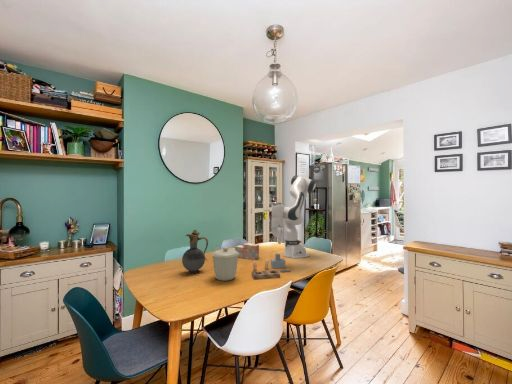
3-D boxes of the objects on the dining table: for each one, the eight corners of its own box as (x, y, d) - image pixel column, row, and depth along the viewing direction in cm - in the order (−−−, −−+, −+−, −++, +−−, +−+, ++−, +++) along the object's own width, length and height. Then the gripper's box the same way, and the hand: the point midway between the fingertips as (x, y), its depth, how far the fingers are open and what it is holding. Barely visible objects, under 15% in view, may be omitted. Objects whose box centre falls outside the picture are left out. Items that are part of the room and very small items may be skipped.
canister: (206, 277, 163) (206, 246, 163) (229, 271, 175) (229, 242, 175) (221, 285, 149) (221, 251, 149) (244, 278, 161) (244, 246, 161)
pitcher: (180, 272, 174) (180, 230, 173) (205, 267, 185) (204, 227, 185) (185, 276, 165) (185, 232, 165) (211, 271, 176) (211, 229, 176)
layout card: (289, 270, 177) (289, 268, 177) (290, 271, 174) (290, 270, 174) (279, 271, 176) (279, 269, 176) (281, 272, 173) (281, 270, 173)
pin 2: (267, 268, 181) (267, 259, 181) (268, 269, 179) (268, 260, 179) (264, 269, 181) (264, 259, 181) (265, 270, 178) (265, 260, 178)
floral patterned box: (234, 256, 215) (234, 242, 215) (239, 255, 220) (239, 241, 220) (255, 260, 203) (255, 245, 203) (259, 258, 208) (259, 244, 208)
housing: (283, 265, 189) (283, 252, 189) (285, 267, 184) (285, 254, 184) (270, 266, 187) (270, 253, 187) (272, 268, 182) (272, 255, 182)
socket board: (276, 273, 171) (276, 269, 171) (280, 277, 163) (280, 273, 163) (251, 275, 167) (251, 271, 167) (253, 279, 160) (253, 275, 160)
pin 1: (256, 270, 179) (256, 260, 179) (256, 271, 176) (256, 261, 176) (252, 270, 178) (252, 260, 178) (253, 271, 176) (253, 261, 175)
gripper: (285, 226, 175) (285, 245, 176) (277, 222, 196) (277, 239, 196) (277, 226, 174) (277, 245, 174) (270, 222, 194) (270, 239, 194)
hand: (277, 242), depth 185 cm, fingers open, 8 cm apart
